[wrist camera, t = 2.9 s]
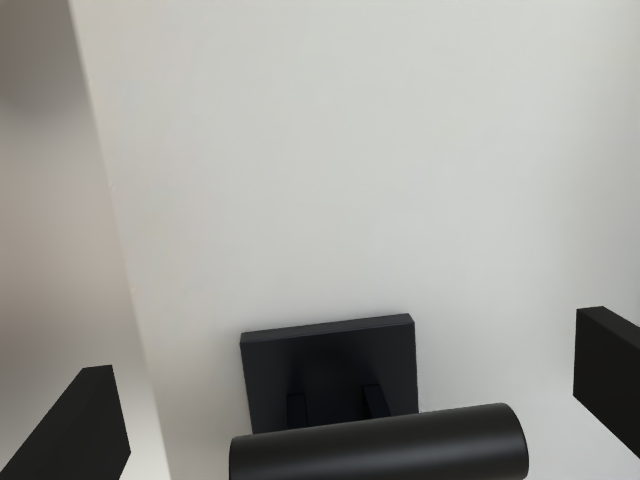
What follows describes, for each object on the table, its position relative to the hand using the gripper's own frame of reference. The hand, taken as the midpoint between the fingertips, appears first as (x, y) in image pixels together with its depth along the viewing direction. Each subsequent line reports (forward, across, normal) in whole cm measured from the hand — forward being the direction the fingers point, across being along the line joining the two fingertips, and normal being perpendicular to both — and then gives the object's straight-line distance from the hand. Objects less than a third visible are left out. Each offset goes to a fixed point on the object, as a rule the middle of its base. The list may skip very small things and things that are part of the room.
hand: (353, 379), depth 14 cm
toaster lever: (0, 0, -4) cm, 4 cm away
